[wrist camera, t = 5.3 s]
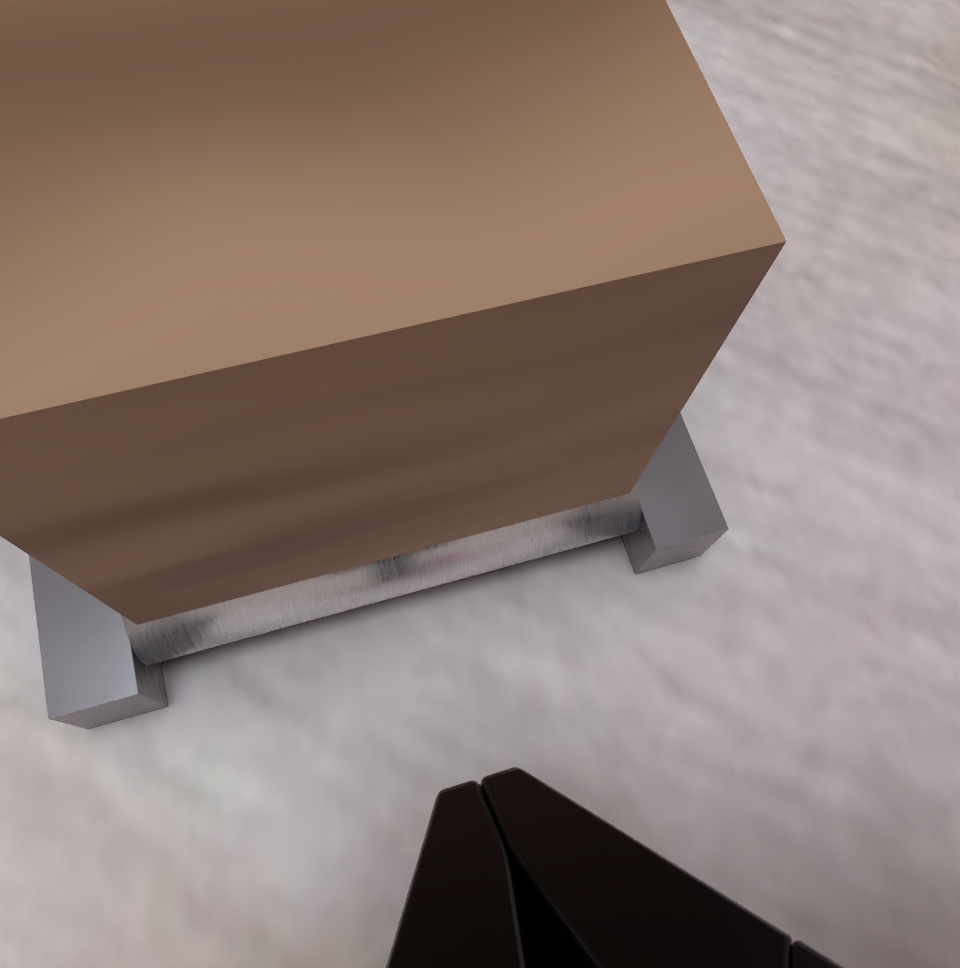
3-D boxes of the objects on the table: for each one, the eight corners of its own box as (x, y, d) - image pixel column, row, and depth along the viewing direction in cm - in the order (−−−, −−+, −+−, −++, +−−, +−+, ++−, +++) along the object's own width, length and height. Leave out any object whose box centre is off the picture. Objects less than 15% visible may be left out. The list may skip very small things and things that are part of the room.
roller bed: (700, 555, 18) (822, 439, 13) (87, 729, 16) (-91, 683, 11) (463, -41, 24) (473, -297, 19) (-5, 35, 22) (-150, -227, 17)
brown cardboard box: (629, 493, 16) (786, 241, 9) (137, 625, 15) (-134, 448, 8) (503, 161, 19) (547, -235, 12) (76, 245, 17) (-165, -146, 10)
